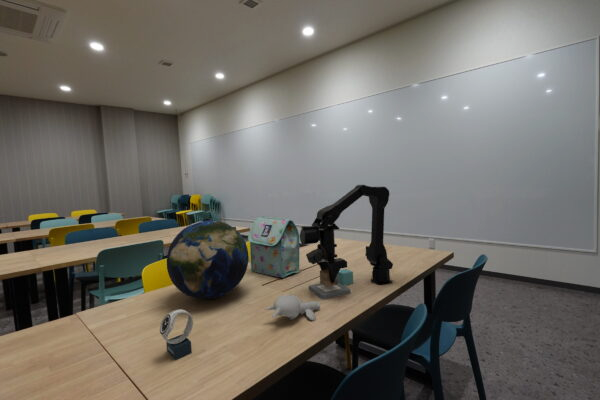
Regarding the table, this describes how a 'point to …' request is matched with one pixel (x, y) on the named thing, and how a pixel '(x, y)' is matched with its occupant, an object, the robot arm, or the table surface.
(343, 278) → the teal block
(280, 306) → the toy creature
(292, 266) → the lunch bag
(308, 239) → the robot arm
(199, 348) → the table surface
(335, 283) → the walnut block
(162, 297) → the table surface
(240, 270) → the globe
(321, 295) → the baseplate
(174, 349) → the watch
